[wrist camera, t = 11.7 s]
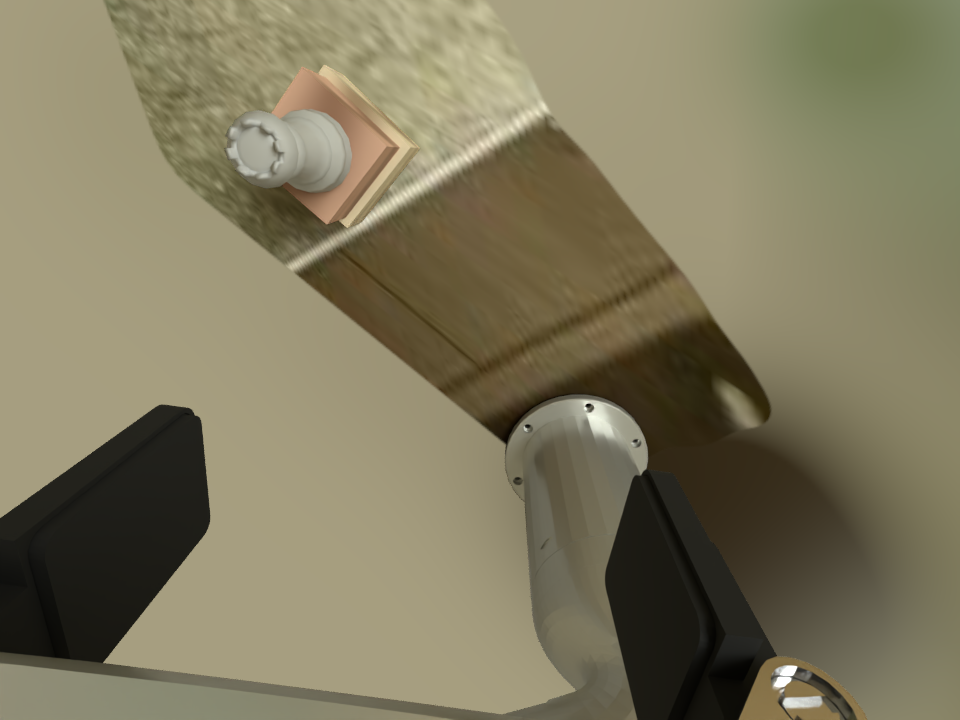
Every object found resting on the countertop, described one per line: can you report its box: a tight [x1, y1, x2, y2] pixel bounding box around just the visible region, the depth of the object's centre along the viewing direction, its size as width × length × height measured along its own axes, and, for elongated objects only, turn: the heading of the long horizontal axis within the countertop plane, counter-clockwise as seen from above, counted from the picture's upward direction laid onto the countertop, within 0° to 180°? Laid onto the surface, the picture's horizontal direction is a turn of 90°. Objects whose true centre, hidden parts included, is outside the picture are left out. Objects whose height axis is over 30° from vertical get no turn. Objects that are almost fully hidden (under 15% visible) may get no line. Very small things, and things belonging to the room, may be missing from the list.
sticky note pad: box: [271, 65, 420, 228], centre depth 33 cm, size 7×7×8 cm
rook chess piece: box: [224, 109, 352, 193], centre depth 25 cm, size 4×4×8 cm
